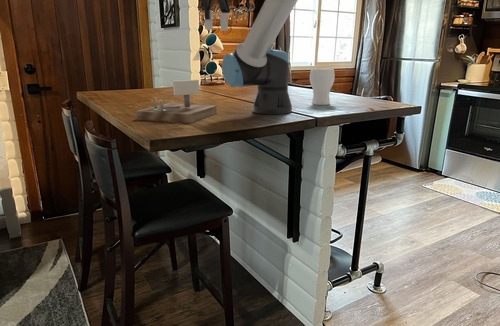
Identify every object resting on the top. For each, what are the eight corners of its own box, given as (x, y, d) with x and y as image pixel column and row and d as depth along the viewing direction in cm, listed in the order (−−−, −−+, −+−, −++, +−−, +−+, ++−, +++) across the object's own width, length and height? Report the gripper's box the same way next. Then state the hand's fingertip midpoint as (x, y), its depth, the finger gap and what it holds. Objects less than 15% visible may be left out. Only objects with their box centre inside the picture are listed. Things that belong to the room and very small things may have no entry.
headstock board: (216, 113, 148) (215, 95, 146) (190, 123, 130) (189, 102, 128) (167, 110, 155) (166, 93, 153) (136, 119, 137) (134, 99, 135)
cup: (333, 105, 163) (335, 69, 159) (308, 105, 165) (309, 69, 161) (333, 102, 173) (335, 68, 169) (309, 101, 175) (310, 68, 171)
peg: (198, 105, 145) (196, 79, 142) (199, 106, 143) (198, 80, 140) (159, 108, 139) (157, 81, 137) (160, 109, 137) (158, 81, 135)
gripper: (220, -25, 154) (221, 31, 160) (188, -37, 132) (192, 29, 138) (237, -27, 151) (238, 30, 157) (208, -39, 129) (211, 28, 135)
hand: (216, 30), depth 148 cm, fingers open, 13 cm apart
